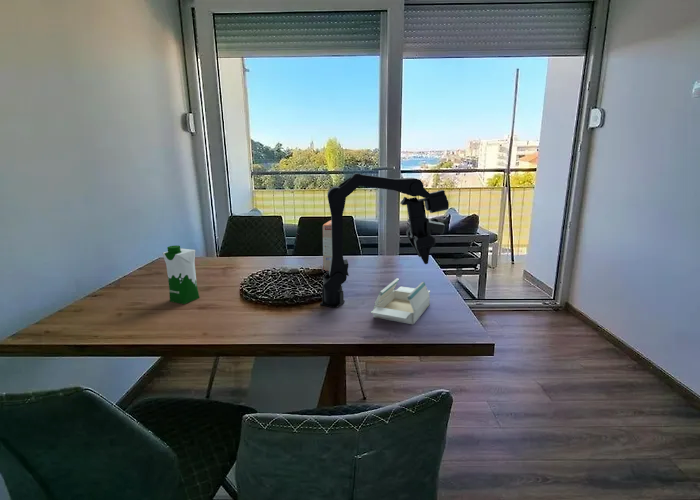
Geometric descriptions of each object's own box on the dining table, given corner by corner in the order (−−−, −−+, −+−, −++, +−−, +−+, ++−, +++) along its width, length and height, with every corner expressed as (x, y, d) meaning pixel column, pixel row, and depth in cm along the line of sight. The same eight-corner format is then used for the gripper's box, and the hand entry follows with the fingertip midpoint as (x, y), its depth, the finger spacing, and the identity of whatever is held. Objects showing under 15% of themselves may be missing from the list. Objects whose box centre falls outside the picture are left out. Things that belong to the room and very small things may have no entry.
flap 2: (413, 311, 118) (407, 296, 118) (427, 295, 131) (421, 282, 131) (416, 310, 118) (409, 295, 118) (429, 295, 131) (424, 281, 131)
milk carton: (165, 302, 139) (158, 247, 134) (186, 294, 147) (179, 241, 142) (184, 305, 135) (177, 249, 131) (203, 297, 143) (198, 243, 138)
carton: (367, 322, 120) (367, 311, 119) (397, 295, 143) (397, 286, 142) (408, 330, 114) (408, 318, 113) (432, 300, 137) (433, 291, 136)
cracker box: (336, 271, 172) (335, 224, 168) (322, 271, 174) (321, 224, 169) (343, 263, 186) (342, 219, 181) (330, 263, 187) (329, 219, 182)
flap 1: (374, 303, 124) (380, 291, 122) (391, 289, 137) (397, 277, 135) (376, 305, 124) (382, 292, 122) (393, 290, 137) (399, 279, 135)
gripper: (448, 215, 122) (454, 263, 125) (434, 207, 140) (439, 249, 143) (413, 222, 122) (420, 269, 126) (403, 213, 140) (409, 254, 144)
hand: (423, 260), depth 135 cm, fingers open, 9 cm apart
